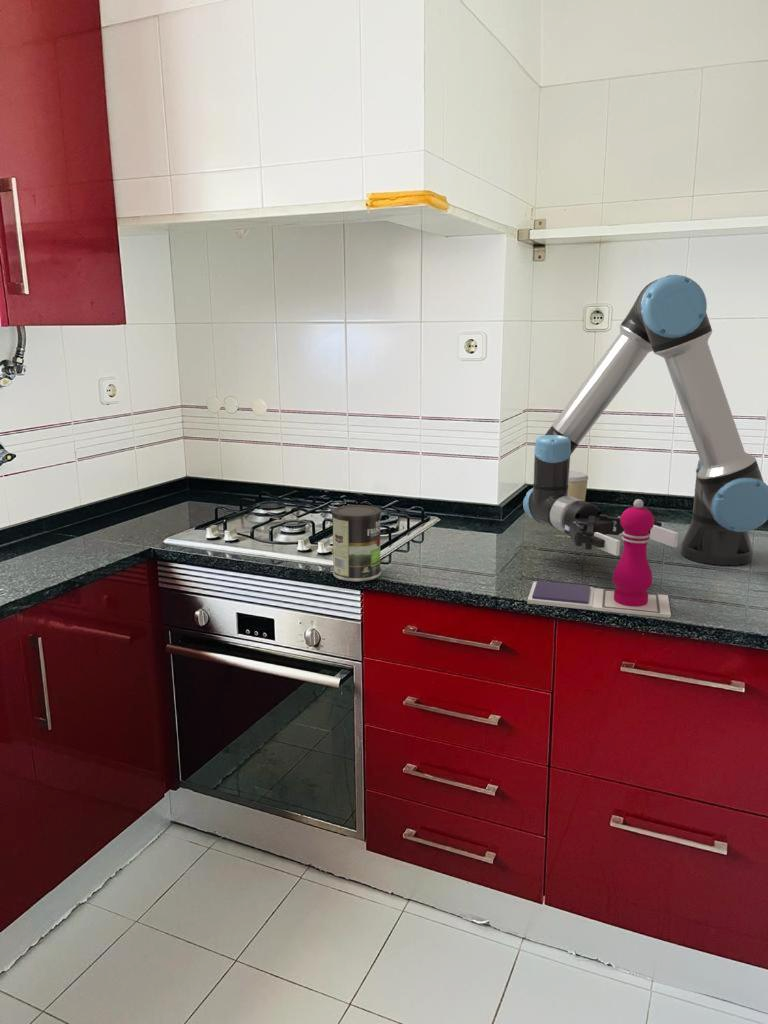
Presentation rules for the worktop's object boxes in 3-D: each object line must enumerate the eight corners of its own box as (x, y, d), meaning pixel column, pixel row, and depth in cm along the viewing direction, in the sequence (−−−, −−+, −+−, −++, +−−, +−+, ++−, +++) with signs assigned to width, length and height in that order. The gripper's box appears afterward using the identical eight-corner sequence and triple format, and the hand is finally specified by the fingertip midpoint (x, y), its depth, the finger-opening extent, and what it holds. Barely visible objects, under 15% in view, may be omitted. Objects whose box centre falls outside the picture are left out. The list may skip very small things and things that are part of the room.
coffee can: (388, 569, 171) (388, 506, 168) (369, 584, 162) (369, 518, 158) (344, 564, 175) (344, 502, 171) (324, 578, 165) (323, 513, 162)
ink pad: (593, 590, 158) (594, 584, 157) (591, 610, 148) (592, 603, 147) (533, 585, 161) (533, 579, 161) (527, 603, 151) (527, 597, 151)
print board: (667, 598, 154) (667, 594, 154) (670, 618, 144) (670, 614, 144) (593, 590, 158) (594, 587, 158) (591, 610, 148) (591, 606, 147)
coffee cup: (575, 511, 222) (577, 469, 219) (592, 519, 213) (594, 476, 210) (545, 513, 220) (547, 471, 217) (560, 521, 211) (563, 478, 208)
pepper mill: (624, 609, 146) (633, 504, 141) (603, 596, 153) (611, 496, 148) (658, 605, 148) (667, 502, 143) (636, 592, 155) (644, 494, 150)
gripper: (623, 529, 169) (697, 555, 150) (525, 541, 160) (591, 571, 141) (625, 495, 168) (701, 517, 149) (526, 505, 158) (593, 531, 139)
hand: (647, 544), depth 145 cm, fingers open, 13 cm apart
